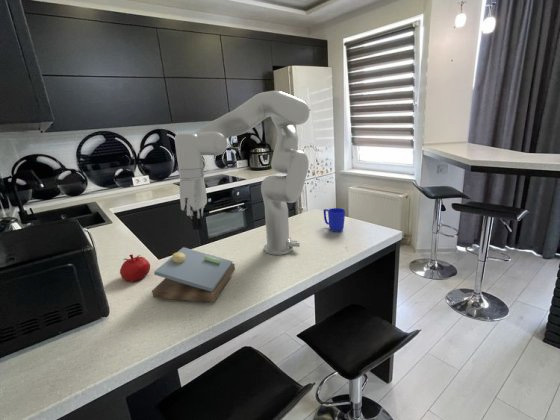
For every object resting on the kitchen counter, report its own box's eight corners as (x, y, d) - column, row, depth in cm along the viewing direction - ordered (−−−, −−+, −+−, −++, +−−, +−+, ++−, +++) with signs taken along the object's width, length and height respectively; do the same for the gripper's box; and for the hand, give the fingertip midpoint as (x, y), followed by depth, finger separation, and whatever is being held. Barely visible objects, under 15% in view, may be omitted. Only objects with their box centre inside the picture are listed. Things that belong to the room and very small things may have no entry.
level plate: (232, 264, 104) (233, 256, 103) (212, 292, 88) (213, 283, 86) (182, 250, 106) (183, 242, 105) (154, 274, 89) (154, 265, 88)
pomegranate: (157, 273, 110) (153, 251, 107) (133, 286, 101) (129, 262, 98) (138, 268, 114) (135, 246, 111) (115, 280, 105) (110, 257, 103)
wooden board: (235, 273, 106) (234, 263, 105) (214, 306, 88) (212, 294, 87) (184, 270, 110) (183, 261, 109) (153, 301, 91) (151, 290, 90)
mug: (329, 224, 152) (329, 205, 149) (348, 229, 143) (348, 210, 140) (318, 228, 147) (318, 209, 144) (337, 234, 138) (337, 214, 135)
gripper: (191, 170, 99) (197, 221, 104) (168, 178, 85) (176, 236, 90) (212, 170, 98) (217, 221, 103) (192, 177, 84) (199, 237, 89)
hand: (198, 228), depth 97 cm, fingers closed
